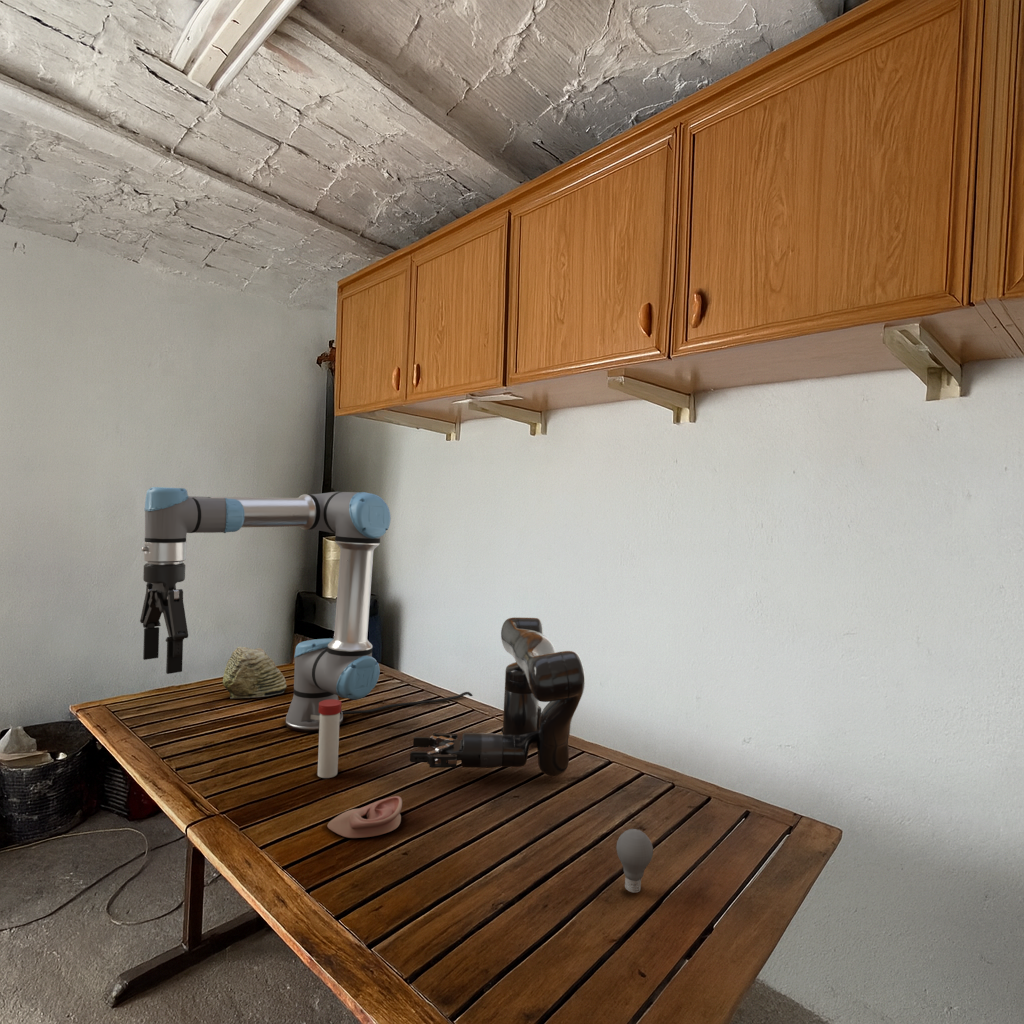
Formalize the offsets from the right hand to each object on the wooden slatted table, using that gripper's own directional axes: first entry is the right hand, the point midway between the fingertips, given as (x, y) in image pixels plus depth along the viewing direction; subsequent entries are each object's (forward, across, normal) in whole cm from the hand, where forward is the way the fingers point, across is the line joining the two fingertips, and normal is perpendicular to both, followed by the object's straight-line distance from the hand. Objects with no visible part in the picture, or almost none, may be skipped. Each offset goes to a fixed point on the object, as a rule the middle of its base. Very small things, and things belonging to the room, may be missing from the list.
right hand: (411, 749), depth 146 cm
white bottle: (+19, -1, +6) cm, 20 cm away
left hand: (+51, +11, -21) cm, 56 cm away
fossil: (+53, -57, +6) cm, 78 cm away
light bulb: (-40, +43, +6) cm, 59 cm away
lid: (+19, -1, -10) cm, 21 cm away
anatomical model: (+7, +22, +6) cm, 24 cm away
